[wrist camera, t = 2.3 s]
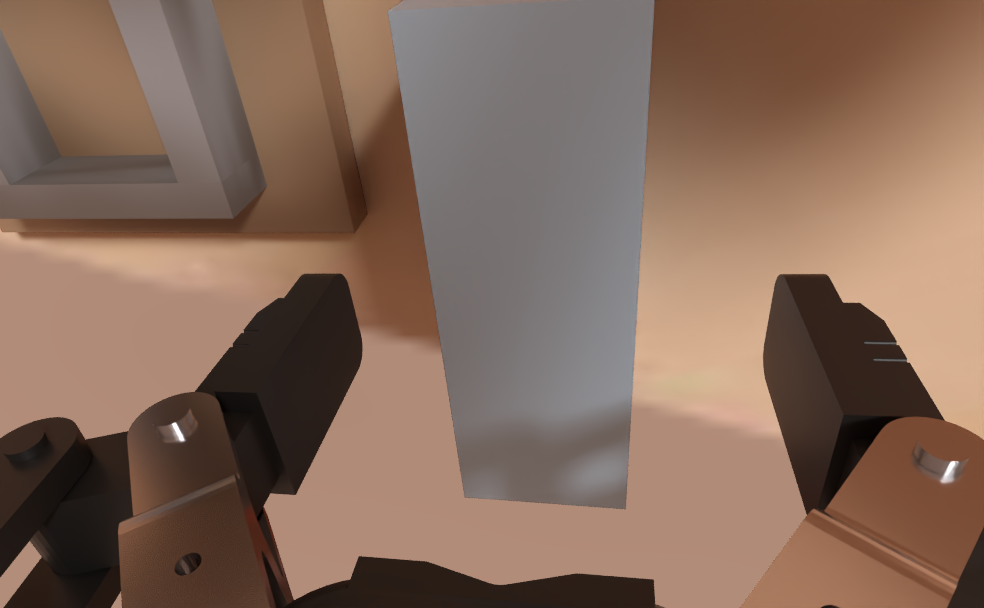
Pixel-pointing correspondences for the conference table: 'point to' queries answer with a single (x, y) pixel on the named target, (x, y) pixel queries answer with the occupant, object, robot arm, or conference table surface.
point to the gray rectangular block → (532, 230)
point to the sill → (173, 118)
